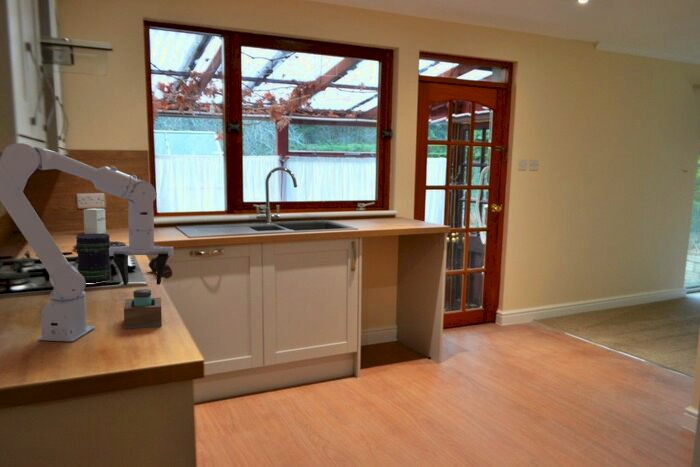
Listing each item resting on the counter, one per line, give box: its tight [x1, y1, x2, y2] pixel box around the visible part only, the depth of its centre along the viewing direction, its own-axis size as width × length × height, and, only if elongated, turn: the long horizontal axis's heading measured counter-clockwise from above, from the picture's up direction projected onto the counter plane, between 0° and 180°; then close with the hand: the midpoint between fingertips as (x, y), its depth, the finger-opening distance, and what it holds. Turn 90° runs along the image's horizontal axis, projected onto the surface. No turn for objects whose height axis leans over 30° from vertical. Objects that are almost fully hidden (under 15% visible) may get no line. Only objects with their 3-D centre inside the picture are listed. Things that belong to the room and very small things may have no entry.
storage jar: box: [75, 233, 112, 283], centre depth 165 cm, size 10×10×15 cm
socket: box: [123, 297, 163, 330], centre depth 127 cm, size 8×8×5 cm
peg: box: [132, 288, 152, 307], centre depth 127 cm, size 4×4×7 cm
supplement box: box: [83, 207, 107, 234], centre depth 260 cm, size 7×7×13 cm
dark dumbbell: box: [148, 257, 173, 279], centre depth 177 cm, size 6×5×15 cm
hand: (142, 283), depth 126 cm, fingers open, 7 cm apart
